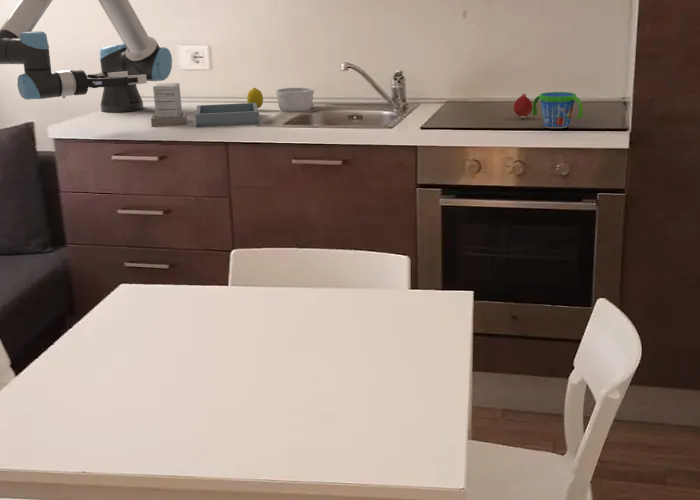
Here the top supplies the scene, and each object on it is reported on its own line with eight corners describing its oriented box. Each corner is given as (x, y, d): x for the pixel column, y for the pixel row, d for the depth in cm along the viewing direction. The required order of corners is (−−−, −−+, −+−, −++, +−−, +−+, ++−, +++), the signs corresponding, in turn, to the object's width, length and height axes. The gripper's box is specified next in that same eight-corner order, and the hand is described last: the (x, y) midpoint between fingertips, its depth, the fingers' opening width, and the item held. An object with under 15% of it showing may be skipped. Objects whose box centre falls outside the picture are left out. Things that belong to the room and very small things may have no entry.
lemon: (256, 112, 308) (254, 89, 305) (244, 110, 311) (243, 88, 309) (266, 109, 312) (265, 87, 310) (255, 108, 315) (254, 86, 313)
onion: (512, 120, 278) (513, 94, 276) (514, 117, 284) (514, 92, 281) (531, 120, 277) (532, 94, 275) (532, 117, 282) (533, 92, 280)
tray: (198, 117, 301) (197, 105, 299) (256, 114, 303) (256, 102, 302) (196, 127, 282) (195, 114, 281) (259, 123, 284) (258, 111, 283)
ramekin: (320, 107, 314) (320, 87, 312) (303, 113, 303) (302, 93, 301) (288, 106, 320) (287, 86, 318) (270, 111, 309) (269, 91, 306)
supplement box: (161, 121, 295) (157, 83, 291) (183, 120, 294) (180, 82, 291) (155, 125, 288) (152, 86, 284) (178, 124, 287) (175, 85, 283)
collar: (154, 120, 296) (153, 113, 295) (187, 119, 297) (186, 111, 296) (151, 126, 285) (150, 118, 284) (186, 124, 287) (185, 117, 286)
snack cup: (524, 128, 265) (525, 93, 262) (544, 123, 272) (545, 90, 269) (568, 133, 254) (570, 98, 251) (588, 128, 261) (590, 94, 258)
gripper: (58, 92, 278) (121, 86, 291) (89, 99, 259) (155, 92, 272) (55, 67, 276) (119, 62, 288) (86, 73, 257) (153, 67, 269)
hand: (136, 77), depth 280 cm, fingers open, 13 cm apart
